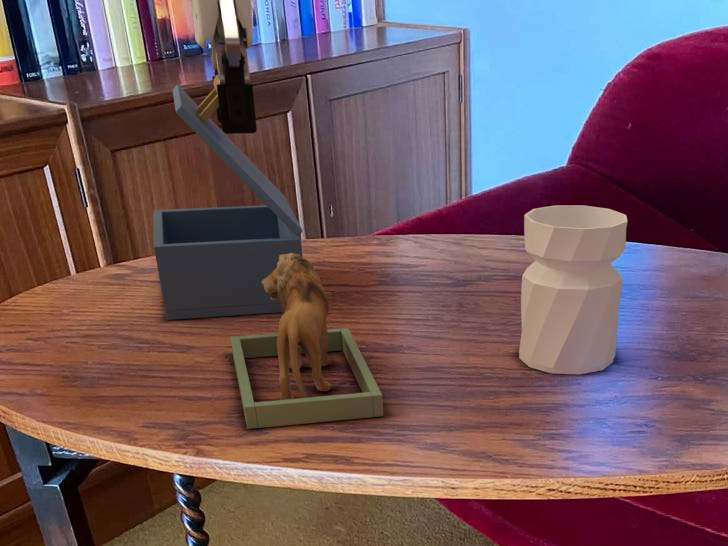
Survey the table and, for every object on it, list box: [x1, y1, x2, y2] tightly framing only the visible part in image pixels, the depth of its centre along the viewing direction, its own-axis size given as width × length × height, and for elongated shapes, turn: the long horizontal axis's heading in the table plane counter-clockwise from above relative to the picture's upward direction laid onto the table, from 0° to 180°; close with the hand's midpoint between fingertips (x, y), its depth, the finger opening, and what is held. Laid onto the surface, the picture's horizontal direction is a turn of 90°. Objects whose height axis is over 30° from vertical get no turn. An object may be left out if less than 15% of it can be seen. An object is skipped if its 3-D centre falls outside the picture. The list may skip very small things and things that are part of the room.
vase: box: [518, 205, 628, 376], centre depth 84 cm, size 9×9×12 cm
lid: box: [172, 75, 304, 237], centre depth 95 cm, size 15×16×5 cm
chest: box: [153, 204, 304, 321], centre depth 100 cm, size 14×16×7 cm
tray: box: [229, 327, 384, 430], centre depth 81 cm, size 11×17×2 cm, turn 15°
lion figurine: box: [262, 253, 332, 400], centre depth 79 cm, size 15×5×9 cm, turn 14°
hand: (236, 125), depth 93 cm, fingers closed on lid, 6 cm apart
